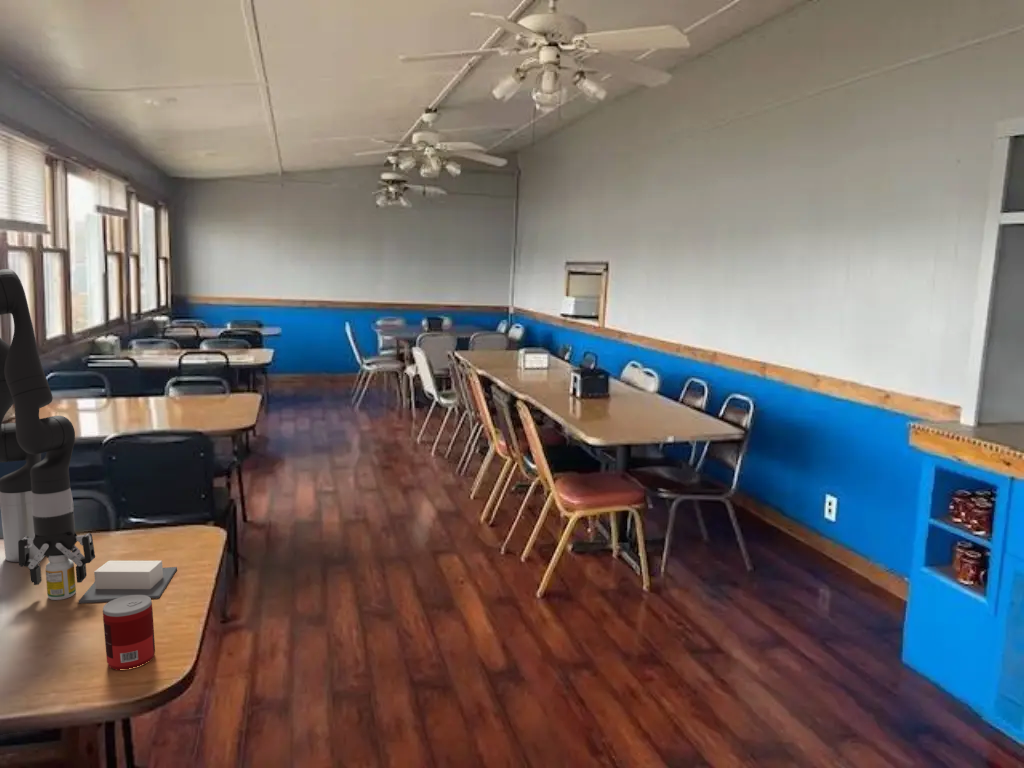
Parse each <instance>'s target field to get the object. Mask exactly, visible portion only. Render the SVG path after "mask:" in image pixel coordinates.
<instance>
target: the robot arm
mask: <svg viewBox="0 0 1024 768" xmlns="http://www.w3.org/2000/svg"><path fill="white" fill-rule="evenodd" d="M6 314H7V315H8V314H10V315H12V319H13V320H12V321H13V326H14V327H13V336H12V339H11V342H10V343H11V344H9V343H8V342H7V341H5V340H4V339H3V338H1V337H0V463H8V462H9V463H10V462H11V463H12V462H21V461H26V463H25V464H24V465H23V466H22V467H20V468H19V469H16V470H14V471H12V472H9V473H8V474H5V475H3V476H2V477H0V517H1V526H2V535H3V545H4V548H3V549H4V555H5V561H8V562H12V563H18V565H19V567H21V568H23V567H26V568H28V569H29V578H30V582H31V583H33V586H39V585H40V584H41V583H42V581H43V579H42V571H41V568H42V567H41V565H40V563H41V562H42V560H43V559H44V557H47V558H49V556H57V555H65V556H66V557H67V558H68V559H70V560H72V561H73V562H74V565H76V566H75V575H76V577H75V578H76V583H78V584H80V583H83V581H84V580H85V579H86V578H87V564H90V563H91V562H92V561H93V560H94V559H95V558H96V555H95V554H96V552H95V547H94V541H93V540H94V539H93V534H92V533H90V532H88V533H85V534H81V535H79V534H77V533H76V523H75V512H74V507H75V506H74V505H75V504H74V500H73V493H72V490H71V482H70V470H69V469H70V463H71V460H72V454H73V451H74V446H75V441H76V440H75V439H76V431H75V428H74V425H73V423H72V421H71V420H69V418H67V417H66V416H63V415H53V416H48V417H43V418H40V409H41V408H42V409H43V408H44V407H46V406H48V405H50V404H51V403H52V402H53V393H52V390H51V388H50V384H49V382H48V380H47V377H46V374H45V371H44V368H43V366H42V365H43V364H42V362H41V359H40V354H39V350H38V346H37V341H36V335H35V330H34V326H33V322H32V318H31V313H30V308H29V304H28V301H27V295H26V293H25V289H24V286H23V284H22V281H21V279H20V278H19V276H18V274H17V273H16V272H15V271H14V270H12V269H10V268H5V269H4V268H3V269H0V315H1V316H2V315H6ZM13 405H14V417H15V422H8V423H3V420H4V418H5V417H6V414H7V413H8V411H9V410H10V409H11V408H12V406H13ZM42 453H46V454H45V457H44V458H43V459H42ZM77 542H79V545H80V546H82V549H83V553H82V552H81V550H80V549H79V547H77V545H76V544H77Z"/></svg>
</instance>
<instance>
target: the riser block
mask: <svg viewBox="0 0 1024 768" xmlns="http://www.w3.org/2000/svg"><path fill="white" fill-rule="evenodd" d="M163 568H164V567H163V560H107V562H105V563H104V564H102V565H101V566H100V567H98V568H97V569H96V570H94V571H93V573H94V574H93V575H94V576H93V577H94V582H95V588H96V589H151V588H152V587H153V586H154V585H156V584H157V583H158V582H159V581H160V580H161V579H162V578H163Z"/></svg>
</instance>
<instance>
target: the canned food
mask: <svg viewBox="0 0 1024 768" xmlns="http://www.w3.org/2000/svg"><path fill="white" fill-rule="evenodd" d="M153 611H154V610H153V602H152V599H151V598H150V597H148V596H145V595H129V596H124V597H120V598H117V599H114V600H112V601H108V602H106V604H105V605H103V608H102V618H103V619H102V620H103V630H104V631H103V632H104V643H105V653H106V654H105V655H106V656H105V657H106V663H107V665H108V667H109V668H110V669H112V668H113V669H112V670H114V669H117V670H116V671H121V670H120V669H129V668H133V667H137V666H140V665H142V664H145V663H146V662H148V661H150V660H151V659H152V658H153V659H154V657H155V654H156V645H155V630H154V629H155V628H154V615H153V614H154V613H153ZM153 659H152V660H153ZM152 660H151V661H152ZM151 661H150V662H151ZM148 663H149V662H148ZM145 665H146V664H145Z"/></svg>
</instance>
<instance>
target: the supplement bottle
mask: <svg viewBox="0 0 1024 768" xmlns="http://www.w3.org/2000/svg"><path fill="white" fill-rule="evenodd" d="M47 560H48V563H46V565H45V568H44V569H45V580H46V592H47V598H48V599H49V600H52V601H60V600H66V599H69V598H71V597H73V596H74V595H75V594H76V592H77V589H76V587H77V586H76V577H75V575H76V571H75V563H74V562H73V561H72V560H70V559H68V558H67V557H66V556H65V555H57V556H49V558H48V559H47Z"/></svg>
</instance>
